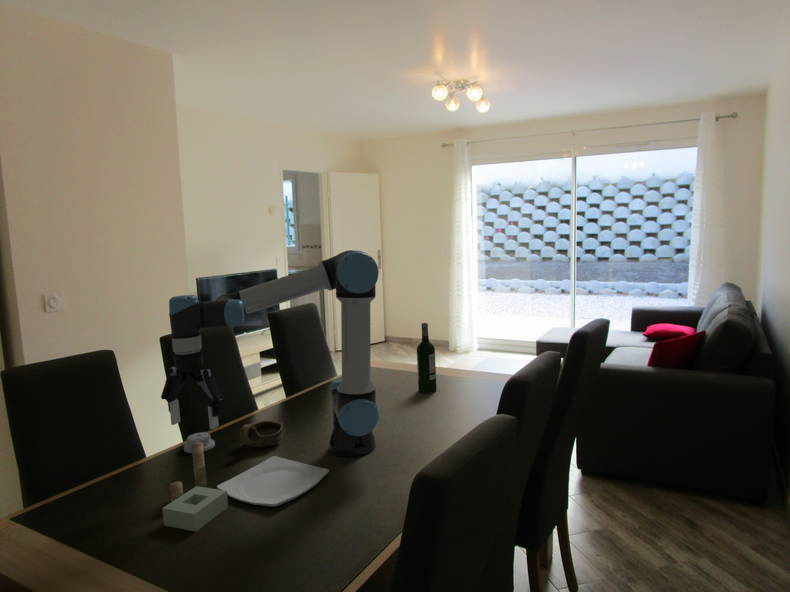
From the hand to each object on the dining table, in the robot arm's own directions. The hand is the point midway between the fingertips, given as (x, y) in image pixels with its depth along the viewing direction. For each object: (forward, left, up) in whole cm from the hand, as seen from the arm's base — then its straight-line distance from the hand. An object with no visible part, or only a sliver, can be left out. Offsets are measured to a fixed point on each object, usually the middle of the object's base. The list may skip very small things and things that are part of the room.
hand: (194, 425), depth 150 cm
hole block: (-10, +13, -18) cm, 25 cm away
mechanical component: (+21, -24, -19) cm, 37 cm away
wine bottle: (-35, -102, -19) cm, 109 cm away
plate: (-20, -7, -19) cm, 29 cm away
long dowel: (0, 0, -18) cm, 18 cm away
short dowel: (-1, +10, -18) cm, 21 cm away
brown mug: (+1, -30, -19) cm, 35 cm away
